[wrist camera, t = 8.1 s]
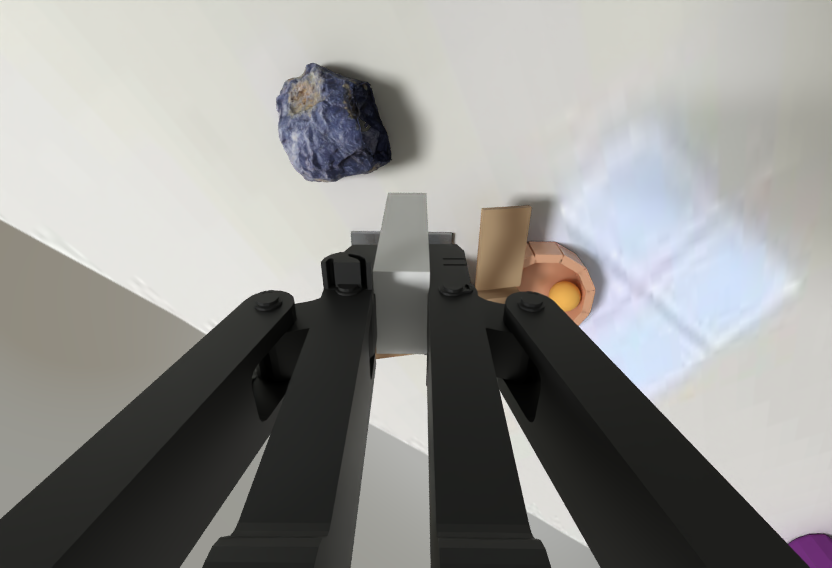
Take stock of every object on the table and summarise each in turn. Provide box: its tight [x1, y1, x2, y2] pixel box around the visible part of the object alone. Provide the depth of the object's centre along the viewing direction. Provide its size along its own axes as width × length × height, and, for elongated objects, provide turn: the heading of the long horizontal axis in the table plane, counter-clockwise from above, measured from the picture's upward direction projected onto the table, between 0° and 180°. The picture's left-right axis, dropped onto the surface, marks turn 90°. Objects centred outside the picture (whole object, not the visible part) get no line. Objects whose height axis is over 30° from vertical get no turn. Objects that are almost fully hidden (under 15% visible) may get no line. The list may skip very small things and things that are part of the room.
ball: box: [549, 281, 581, 312], centre depth 52 cm, size 4×4×4 cm
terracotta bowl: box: [517, 241, 595, 326], centre depth 52 cm, size 12×12×4 cm
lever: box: [375, 205, 532, 359], centre depth 46 cm, size 18×15×4 cm
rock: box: [276, 63, 392, 182], centre depth 42 cm, size 11×10×10 cm
